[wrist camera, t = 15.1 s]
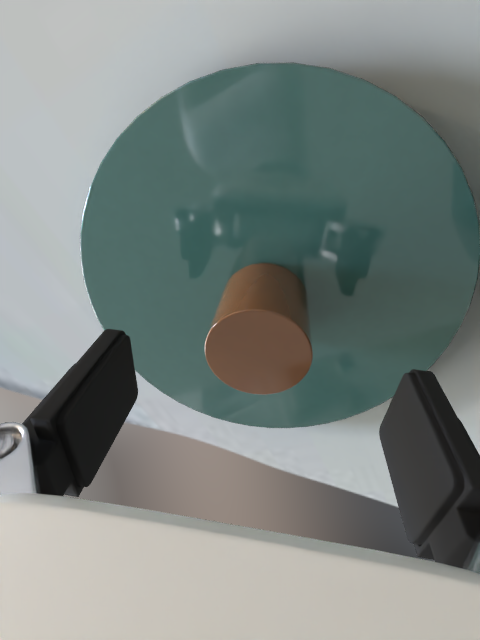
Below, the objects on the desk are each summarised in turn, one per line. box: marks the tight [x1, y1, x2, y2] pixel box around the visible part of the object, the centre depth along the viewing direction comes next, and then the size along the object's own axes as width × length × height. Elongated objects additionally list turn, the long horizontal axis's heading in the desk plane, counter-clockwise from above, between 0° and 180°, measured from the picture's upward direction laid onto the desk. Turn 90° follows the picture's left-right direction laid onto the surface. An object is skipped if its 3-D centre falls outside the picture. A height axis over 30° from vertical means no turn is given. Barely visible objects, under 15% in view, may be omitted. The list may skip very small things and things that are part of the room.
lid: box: [80, 63, 480, 428], centre depth 14 cm, size 18×18×5 cm
